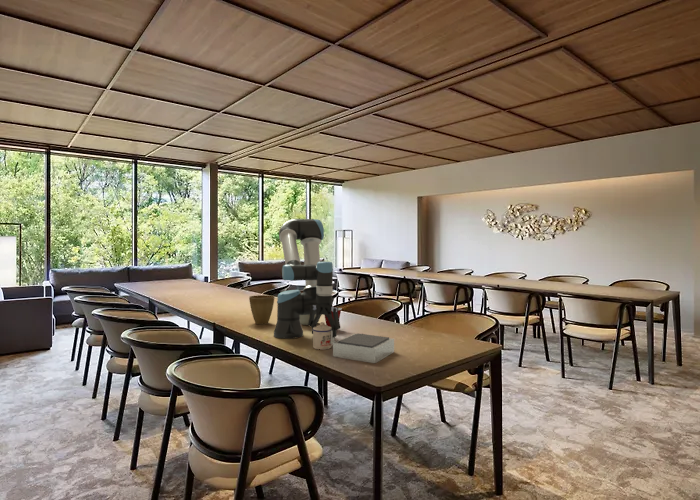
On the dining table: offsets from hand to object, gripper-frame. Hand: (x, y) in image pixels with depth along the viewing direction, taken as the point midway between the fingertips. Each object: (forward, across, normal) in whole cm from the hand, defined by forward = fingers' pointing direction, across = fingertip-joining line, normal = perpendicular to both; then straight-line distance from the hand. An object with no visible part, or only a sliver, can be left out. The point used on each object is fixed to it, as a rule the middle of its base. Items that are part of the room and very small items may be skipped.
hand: (323, 342), depth 199 cm
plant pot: (+2, -61, +28) cm, 67 cm away
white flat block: (+2, +22, +1) cm, 22 cm away
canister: (+2, -37, +41) cm, 55 cm away
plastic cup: (+2, -16, +34) cm, 38 cm away
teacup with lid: (+2, 0, 0) cm, 2 cm away
